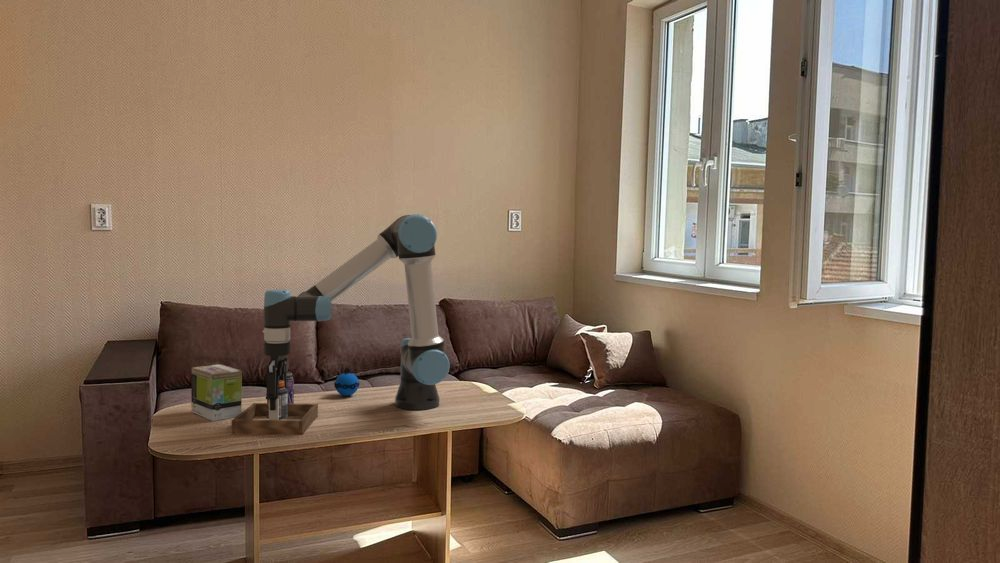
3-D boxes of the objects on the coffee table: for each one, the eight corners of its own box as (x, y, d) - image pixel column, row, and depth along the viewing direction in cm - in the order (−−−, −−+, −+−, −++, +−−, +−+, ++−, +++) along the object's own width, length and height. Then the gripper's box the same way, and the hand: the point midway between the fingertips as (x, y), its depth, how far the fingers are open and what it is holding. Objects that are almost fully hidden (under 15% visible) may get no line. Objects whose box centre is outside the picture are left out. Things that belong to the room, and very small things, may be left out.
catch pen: (317, 416, 220) (317, 404, 220) (302, 434, 200) (302, 421, 200) (253, 415, 219) (253, 403, 219) (231, 434, 200) (231, 420, 199)
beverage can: (286, 413, 223) (287, 376, 222) (266, 412, 224) (266, 375, 223) (297, 408, 229) (297, 372, 229) (278, 406, 231) (278, 371, 230)
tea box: (243, 416, 219) (242, 369, 217) (211, 422, 211) (211, 374, 210) (221, 407, 229) (220, 362, 228) (190, 412, 221) (189, 366, 220)
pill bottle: (263, 417, 210) (263, 380, 209) (281, 414, 214) (281, 378, 213) (273, 421, 206) (273, 384, 205) (291, 418, 210) (291, 381, 209)
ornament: (351, 391, 254) (351, 364, 254) (363, 396, 248) (363, 368, 247) (329, 395, 249) (330, 367, 248) (342, 399, 242) (342, 371, 242)
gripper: (273, 336, 217) (273, 409, 219) (254, 346, 198) (254, 425, 200) (297, 336, 218) (297, 409, 219) (281, 346, 199) (280, 426, 200)
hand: (276, 417), depth 210 cm, fingers closed on pill bottle, 6 cm apart
